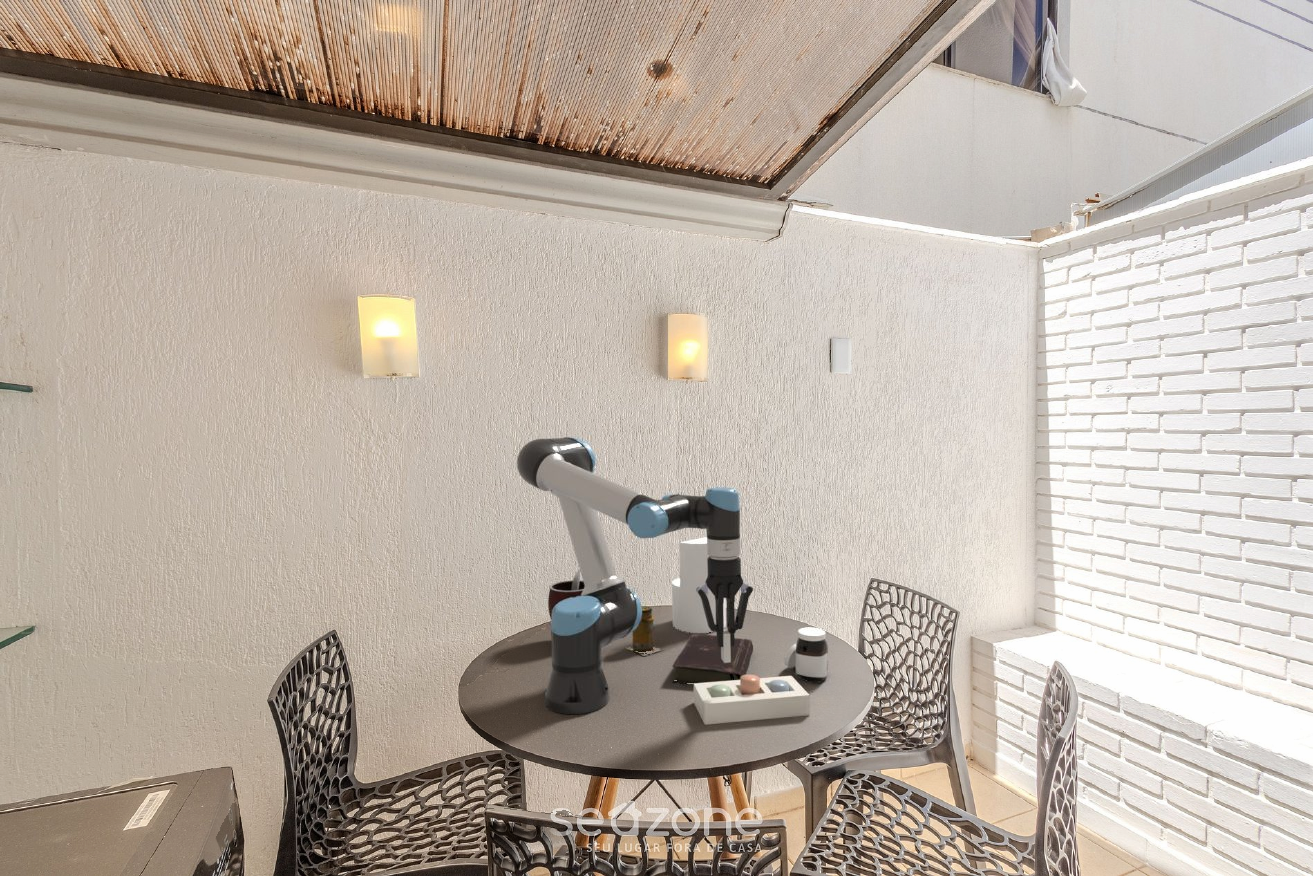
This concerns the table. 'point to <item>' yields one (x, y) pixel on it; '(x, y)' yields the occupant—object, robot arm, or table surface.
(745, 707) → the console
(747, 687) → the terracotta button
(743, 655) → the diary
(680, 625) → the cylinder
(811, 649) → the spread jar
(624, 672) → the table surface
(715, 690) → the sage button
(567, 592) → the mate gourd
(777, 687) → the slate button
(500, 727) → the table surface
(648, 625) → the condiment
